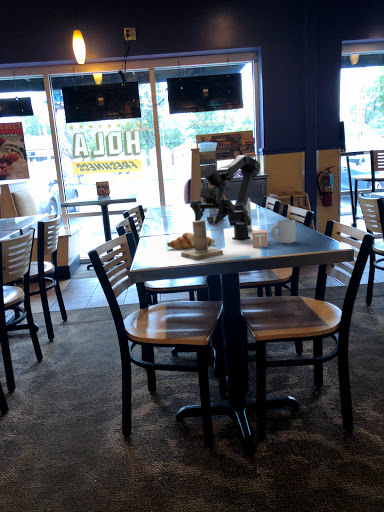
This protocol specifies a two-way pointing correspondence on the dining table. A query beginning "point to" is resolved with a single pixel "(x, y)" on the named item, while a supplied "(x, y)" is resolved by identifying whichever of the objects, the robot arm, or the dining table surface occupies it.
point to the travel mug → (248, 211)
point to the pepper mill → (200, 236)
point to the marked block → (260, 238)
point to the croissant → (187, 242)
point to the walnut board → (201, 254)
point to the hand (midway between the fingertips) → (205, 223)
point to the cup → (284, 231)
